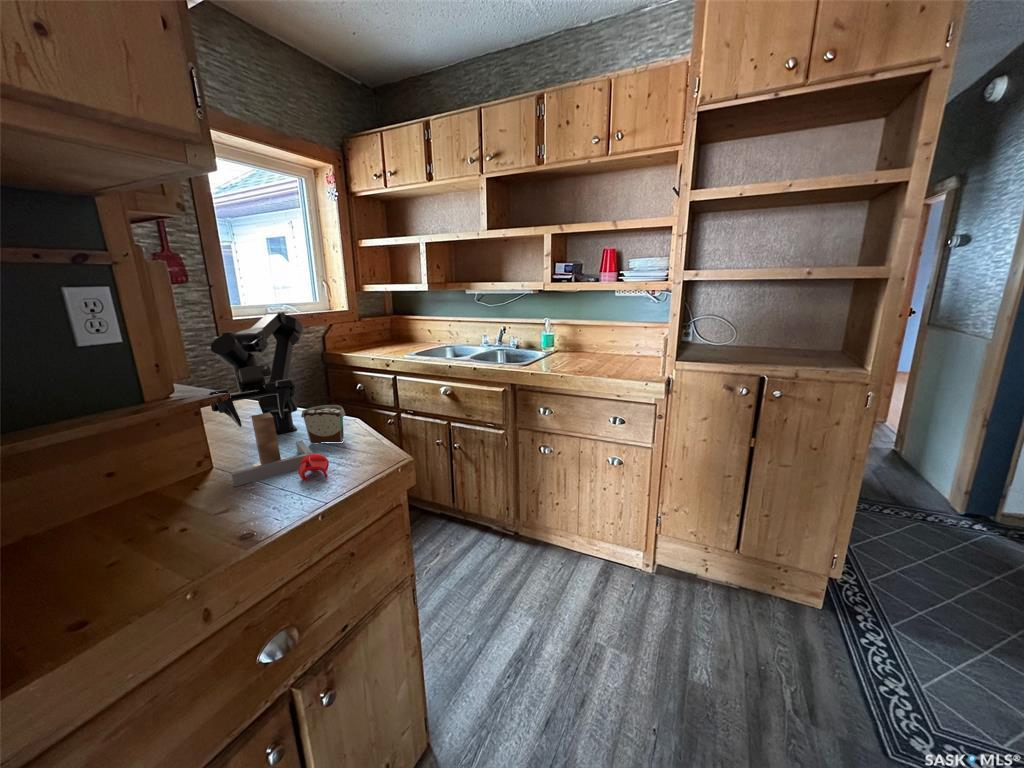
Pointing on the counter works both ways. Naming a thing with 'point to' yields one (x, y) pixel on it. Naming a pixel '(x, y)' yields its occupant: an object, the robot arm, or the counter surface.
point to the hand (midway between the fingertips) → (262, 421)
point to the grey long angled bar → (271, 467)
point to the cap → (313, 465)
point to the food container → (324, 423)
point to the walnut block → (266, 438)
